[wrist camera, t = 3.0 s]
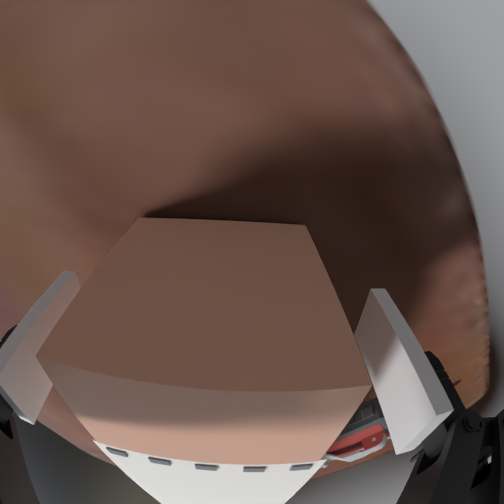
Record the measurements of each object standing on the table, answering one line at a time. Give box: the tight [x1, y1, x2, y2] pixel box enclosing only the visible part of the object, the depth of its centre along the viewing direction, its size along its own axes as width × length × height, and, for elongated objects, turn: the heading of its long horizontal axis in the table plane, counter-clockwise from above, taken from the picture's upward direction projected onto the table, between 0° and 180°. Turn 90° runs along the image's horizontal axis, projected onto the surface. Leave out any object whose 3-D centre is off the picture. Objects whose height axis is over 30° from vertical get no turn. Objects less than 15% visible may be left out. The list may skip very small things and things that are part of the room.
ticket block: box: [93, 437, 327, 504], centre depth 17 cm, size 22×9×9 cm, turn 176°
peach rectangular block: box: [36, 218, 372, 465], centre depth 10 cm, size 5×8×9 cm, turn 86°
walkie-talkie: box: [321, 398, 391, 468], centre depth 22 cm, size 9×4×20 cm
